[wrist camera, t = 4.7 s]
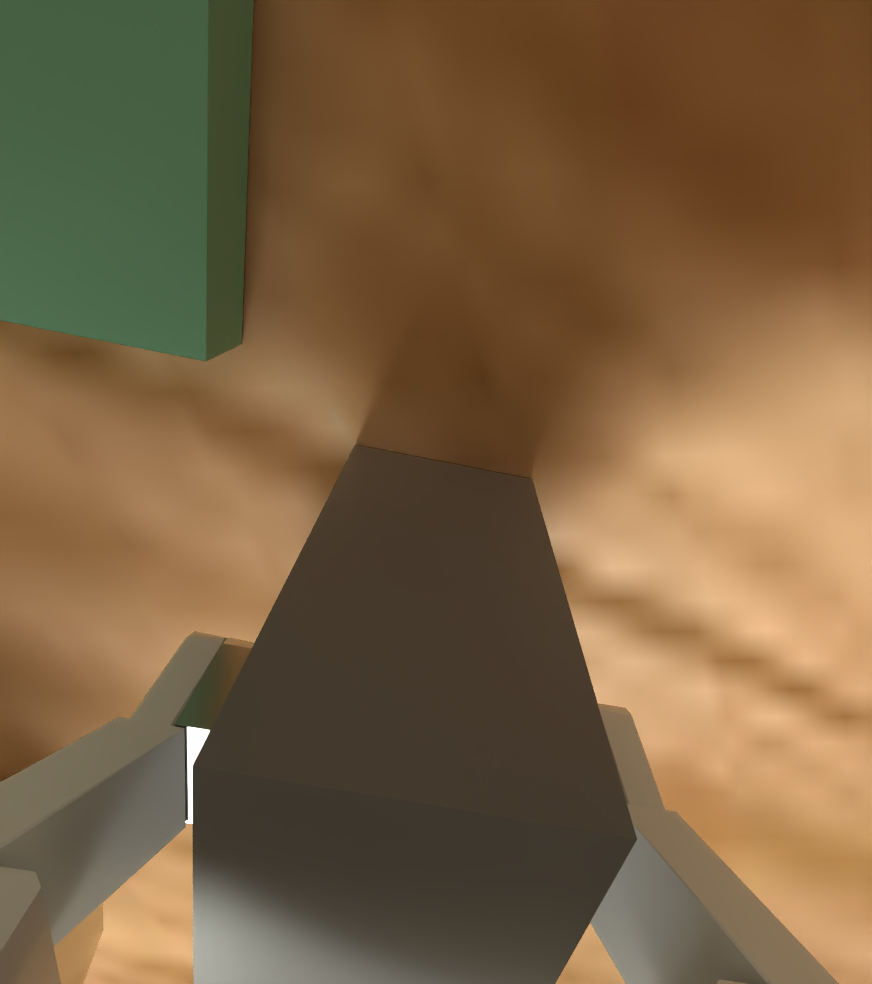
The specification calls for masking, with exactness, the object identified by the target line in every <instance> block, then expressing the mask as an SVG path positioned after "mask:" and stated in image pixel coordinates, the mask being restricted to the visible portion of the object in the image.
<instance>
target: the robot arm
mask: <svg viewBox="0 0 872 984" xmlns="http://www.w3.org/2000/svg"><path fill="white" fill-rule="evenodd" d="M253 645H254V643H253V642H248V641H243V640H238V639H233V638H224V637H219V636H214V635H210V634H205V633H200V632H193V633H192V634H191V635H189V636H188V637H186V638H185V640H184V641H183V643H182V644H181V645H180V647H179V648H178V650H177V651H176V653H175V654H174V656H173V657H172V658H171V660H170V661H169V663H168V664H167V666H166V667H165V669H164V670H163V671H162V673H161V674H160V676H159V677H158V679H157V680H156V682H155V683H154V684H153V686H152V687H151V689H150V690H149V692H148V693H147V695H146V696H145V697H144V699H143V700H142V702H141V703H140V705H139V706H138V708H137V709H136V710H135V712H134V713H133V715H132V716H131V718H130V719H129V718H122V717H118V718H116V719H114V720H112V721H110V722H108V723H107V724H105V725H103V726H101V727H99V728H98V729H96V730H94V731H92V732H90V733H89V734H87V735H85V736H83V737H81V738H80V739H78V740H76V741H74V742H72V743H70V744H69V745H67V746H65V747H63V748H61V749H60V750H58V751H56V752H54V753H52V754H51V755H49V756H47V757H45V758H43V759H42V760H40V761H38V762H36V763H34V764H32V765H31V766H29V767H27V768H25V769H23V770H22V771H20V772H18V773H16V774H14V775H13V776H11V777H9V778H7V779H5V780H4V781H2V782H0V984H61V979H60V975H59V970H58V965H57V960H56V956H55V951H54V946H55V945H56V944H57V943H59V942H60V941H61V940H62V939H63V938H64V937H65V936H66V935H67V934H68V933H70V932H71V931H72V930H73V929H74V928H75V927H76V926H77V925H78V924H79V923H81V922H82V921H83V920H84V919H85V918H86V917H87V916H88V915H89V914H90V913H92V912H93V911H94V910H95V909H96V908H97V907H98V906H99V905H100V904H101V903H103V902H104V901H105V900H106V899H107V898H108V897H109V896H110V895H111V894H112V893H114V892H115V891H116V890H117V889H118V888H119V887H120V886H121V885H122V884H123V883H125V882H126V881H127V880H128V879H129V878H130V877H131V876H132V875H133V874H135V873H136V872H137V871H138V870H139V869H140V868H141V867H142V866H143V865H144V864H146V863H147V862H148V861H149V860H150V859H151V858H152V857H153V856H154V855H155V854H157V853H158V852H159V851H160V850H161V849H162V848H163V847H164V846H165V845H166V844H168V843H169V842H170V841H171V840H172V839H173V838H174V837H175V836H176V835H177V834H179V833H180V832H181V831H182V830H183V829H184V828H185V827H186V823H192V824H193V797H192V765H193V763H194V761H195V759H196V757H197V755H198V753H199V751H200V749H201V747H202V745H203V743H204V742H205V740H206V738H207V736H208V734H209V732H210V730H211V728H212V726H213V724H214V722H215V720H216V718H217V716H218V714H219V712H220V710H221V708H222V706H223V704H224V702H225V700H226V698H227V696H228V694H229V692H230V690H231V688H232V686H233V684H234V682H235V680H236V679H237V677H238V675H239V673H240V671H241V669H242V667H243V665H244V663H245V661H246V659H247V657H248V655H249V653H250V651H251V649H252V647H253ZM598 707H599V710H600V714H601V717H602V721H603V724H604V727H605V731H606V734H607V738H608V741H609V744H610V748H611V751H612V755H613V758H614V762H615V765H616V768H617V772H618V775H619V779H620V782H621V785H622V789H623V792H624V796H625V799H626V803H627V806H628V809H629V813H630V816H631V820H632V823H633V826H634V830H635V833H636V837H637V841H636V842H635V844H634V846H633V848H632V849H631V851H630V853H629V855H628V856H627V858H626V860H625V862H624V863H623V865H622V867H621V869H620V871H619V872H618V874H617V876H616V878H615V879H614V881H613V883H612V885H611V886H610V888H609V890H608V892H607V893H606V895H605V897H604V899H603V900H602V902H601V904H600V906H599V907H598V909H597V911H596V913H595V914H594V916H593V918H592V920H591V921H590V923H591V924H592V926H593V928H594V930H595V931H596V933H597V935H598V936H599V938H600V940H601V942H602V943H603V945H604V947H605V948H606V950H607V952H608V954H609V955H610V957H611V959H612V960H613V962H614V964H615V966H616V967H617V969H618V971H619V972H620V974H621V976H622V978H623V979H624V981H625V983H626V984H839V983H838V982H837V981H836V980H835V979H834V978H833V977H832V976H831V975H830V974H829V973H828V972H827V971H826V970H825V968H824V967H823V966H822V965H821V964H820V963H819V962H818V961H817V960H816V959H815V958H814V957H813V956H812V955H811V954H810V953H809V952H808V950H807V949H806V948H805V947H804V946H803V945H802V944H801V943H800V942H799V941H798V940H797V939H796V938H795V937H794V936H793V935H792V934H791V933H790V931H789V930H788V929H787V928H786V927H785V926H784V925H783V924H782V923H781V922H780V921H779V920H778V919H777V918H776V917H775V916H774V915H773V914H772V912H771V911H770V910H769V909H768V908H767V907H766V906H765V905H764V904H763V903H762V902H761V901H760V900H759V899H758V898H757V897H756V896H755V894H754V893H753V892H752V891H751V890H750V889H749V888H748V887H747V886H746V885H745V884H744V883H743V882H742V881H741V880H740V879H739V878H738V877H737V875H736V874H735V873H734V872H733V871H732V870H731V869H730V868H729V867H728V866H727V865H726V864H725V863H724V862H723V861H722V860H721V859H720V857H719V856H718V855H717V854H716V853H715V852H714V851H713V850H712V849H711V848H710V847H709V846H708V845H707V844H706V843H705V842H704V841H703V840H702V838H701V837H700V836H699V835H698V834H697V833H696V832H695V831H694V830H693V829H692V828H691V827H690V826H689V825H688V824H687V823H686V822H685V820H684V819H683V818H682V817H681V816H680V815H679V814H678V813H677V812H674V811H669V810H666V809H665V806H664V803H663V801H662V798H661V795H660V792H659V790H658V787H657V784H656V781H655V779H654V776H653V773H652V770H651V768H650V765H649V762H648V759H647V757H646V754H645V751H644V748H643V746H642V743H641V740H640V737H639V735H638V732H637V729H636V727H635V724H634V721H633V718H632V716H631V714H630V712H629V711H628V710H627V709H626V708H622V707H616V706H610V705H604V704H598Z"/></svg>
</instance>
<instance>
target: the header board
mask: <svg viewBox="0 0 872 984" xmlns="http://www.w3.org/2000/svg"><path fill="white" fill-rule="evenodd" d="M253 7H254V0H0V320H1V321H6V322H11V323H16V324H21V325H26V326H31V327H36V328H41V329H46V330H51V331H56V332H61V333H66V334H71V335H76V336H81V337H86V338H91V339H96V340H101V341H106V342H111V343H116V344H121V345H126V346H131V347H136V348H141V349H146V350H151V351H156V352H161V353H166V354H171V355H176V356H181V357H186V358H191V359H197V360H202V361H208V360H210V359H212V358H214V357H216V356H218V355H220V354H222V353H224V352H226V351H228V350H230V349H232V348H234V347H236V346H238V345H240V344H242V322H243V294H244V265H245V236H246V208H247V179H248V150H249V122H250V93H251V64H252V36H253Z"/></svg>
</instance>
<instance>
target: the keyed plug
mask: <svg viewBox="0 0 872 984" xmlns="http://www.w3.org/2000/svg"><path fill="white" fill-rule="evenodd" d="M192 797H193V972H194V984H555V983H556V981H557V980H558V978H559V976H560V974H561V972H562V971H563V969H564V967H565V965H566V964H567V962H568V960H569V958H570V957H571V955H572V953H573V951H574V950H575V948H576V946H577V944H578V943H579V941H580V939H581V937H582V936H583V934H584V932H585V930H586V929H587V927H588V925H589V923H590V921H591V920H592V918H593V916H594V914H595V913H596V911H597V909H598V907H599V906H600V904H601V902H602V900H603V899H604V897H605V895H606V893H607V892H608V890H609V888H610V886H611V885H612V883H613V881H614V879H615V878H616V876H617V874H618V872H619V871H620V869H621V867H622V865H623V863H624V862H625V860H626V858H627V856H628V855H629V853H630V851H631V849H632V848H633V846H634V844H635V842H636V841H637V837H636V833H635V830H634V826H633V823H632V820H631V816H630V813H629V809H628V806H627V803H626V799H625V796H624V792H623V789H622V785H621V782H620V779H619V775H618V772H617V768H616V765H615V762H614V758H613V755H612V751H611V748H610V744H609V741H608V738H607V734H606V731H605V727H604V724H603V721H602V717H601V714H600V710H599V707H598V703H597V700H596V697H595V693H594V690H593V686H592V683H591V679H590V676H589V673H588V669H587V666H586V662H585V659H584V656H583V652H582V649H581V645H580V642H579V638H578V635H577V632H576V628H575V625H574V621H573V618H572V615H571V611H570V608H569V604H568V601H567V597H566V594H565V591H564V587H563V584H562V580H561V577H560V574H559V570H558V567H557V563H556V560H555V556H554V553H553V550H552V546H551V543H550V539H549V536H548V532H547V529H546V526H545V522H544V519H543V515H542V512H541V509H540V505H539V502H538V498H537V495H536V491H535V488H534V485H533V481H532V479H529V478H524V477H519V476H514V475H508V474H503V473H498V472H493V471H488V470H483V469H477V468H472V467H467V466H462V465H457V464H452V463H447V462H441V461H436V460H431V459H426V458H421V457H416V456H411V455H405V454H400V453H395V452H390V451H385V450H380V449H375V448H369V447H364V446H359V445H355V446H354V448H353V450H352V452H351V454H350V456H349V458H348V460H347V462H346V464H345V466H344V468H343V470H342V472H341V474H340V476H339V478H338V480H337V482H336V484H335V486H334V488H333V489H332V491H331V493H330V495H329V497H328V499H327V501H326V503H325V505H324V507H323V509H322V511H321V513H320V515H319V517H318V519H317V521H316V523H315V525H314V527H313V529H312V531H311V533H310V535H309V537H308V539H307V541H306V543H305V545H304V547H303V549H302V551H301V553H300V554H299V556H298V558H297V560H296V562H295V564H294V566H293V568H292V570H291V572H290V574H289V576H288V578H287V580H286V582H285V584H284V586H283V588H282V590H281V592H280V594H279V596H278V598H277V600H276V602H275V604H274V606H273V608H272V610H271V612H270V614H269V616H268V617H267V619H266V621H265V623H264V625H263V627H262V629H261V631H260V633H259V635H258V637H257V639H256V641H255V643H254V645H253V647H252V649H251V651H250V653H249V655H248V657H247V659H246V661H245V663H244V665H243V667H242V669H241V671H240V673H239V675H238V677H237V679H236V680H235V682H234V684H233V686H232V688H231V690H230V692H229V694H228V696H227V698H226V700H225V702H224V704H223V706H222V708H221V710H220V712H219V714H218V716H217V718H216V720H215V722H214V724H213V726H212V728H211V730H210V732H209V734H208V736H207V738H206V740H205V742H204V743H203V745H202V747H201V749H200V751H199V753H198V755H197V757H196V759H195V761H194V763H193V765H192Z"/></svg>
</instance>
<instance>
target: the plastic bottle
mask: <svg viewBox="0 0 872 984" xmlns="http://www.w3.org/2000/svg"><path fill="white" fill-rule="evenodd" d="M102 931H103V903H101V904H100V905H99V906H98V907H97V908H96V909H95V910H94V911H93V912H92V913H90V914H89V915H88V916H87V917H86V918H85V919H84V920H83V921H82V922H81V923H79V924H78V925H77V926H76V927H75V928H74V929H73V930H72V931H71V932H70V933H68V934H67V935H66V936H65V937H64V938H63V939H62V940H61V941H60V942H59V943H57V944H56V945H55V946H54V951H55V956H56V960H57V965H58V970H59V975H60V979H61V984H83V983H84V980H85V977H86V975H87V972H88V969H89V966H90V964H91V961H92V958H93V956H94V953H95V950H96V947H97V945H98V942H99V939H100V937H101V934H102Z"/></svg>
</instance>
